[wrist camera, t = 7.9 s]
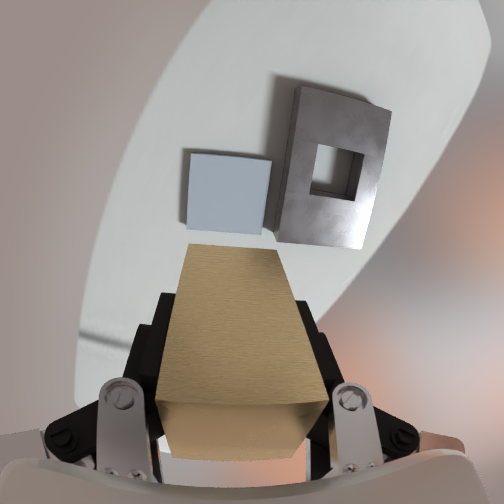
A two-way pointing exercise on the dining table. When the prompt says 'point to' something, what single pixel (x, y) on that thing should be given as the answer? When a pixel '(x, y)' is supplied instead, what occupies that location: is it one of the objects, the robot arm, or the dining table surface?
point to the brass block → (237, 360)
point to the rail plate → (302, 165)
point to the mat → (227, 193)
